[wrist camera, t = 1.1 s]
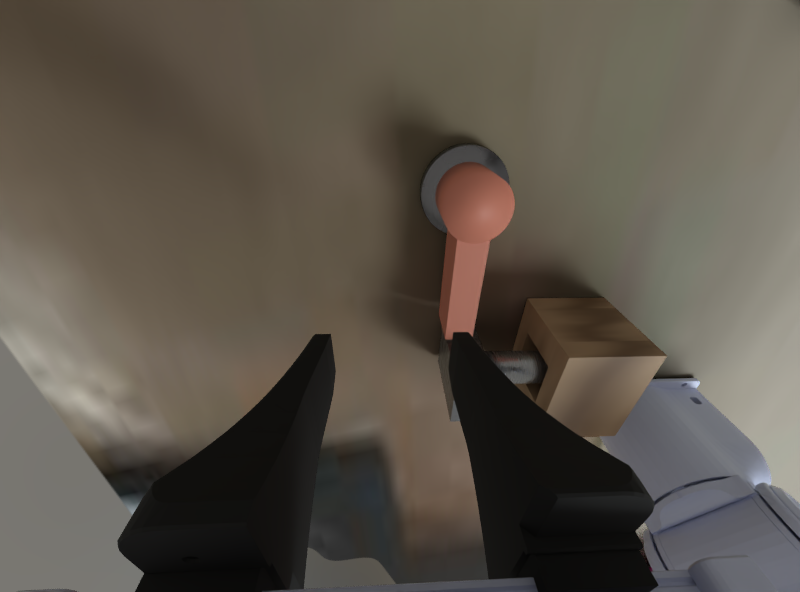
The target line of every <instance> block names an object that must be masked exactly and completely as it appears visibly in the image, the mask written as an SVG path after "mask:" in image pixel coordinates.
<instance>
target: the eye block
mask: <svg viewBox="0 0 800 592" xmlns="http://www.w3.org/2000/svg"><path fill="white" fill-rule="evenodd" d="M527 350H538V351H539V352H540V354H541V356H542V357H543V359H544V361H545V362H546V364H547V366H548V370H547V373H546V375H545V378H544V380H543V383H534V384H515V385H516V386H517V387H518V388H519V389H520V390H521V391H522V392H523V393H524V394H525V395H526V396H528V397H529V398H530V399H531V400H532V401H533V402H535V403H536V404H537V405H538V406H539V407H541V408H542V409H543V410H544V411H546V412H547V413H548V414H550V415H551V416H552V417H554V418H555V419H556V420H558V421H559V422H560V423H562V424H563V425H564V426H566V427H567V428H569V429H570V430H572V431H573V432H575V433H576V434H578V435H579V436H581V437H597V436H615V435H616V434H617V432H618V431H619V429H620V428H621V426H622V425H623V423H624V421H625V420H626V418H627V417H628V415H629V414H630V412H631V411H632V409H633V408H634V406H635V405H636V403H637V402H638V400H639V398H640V397H641V395H642V394H643V392H644V391H645V389H646V388H647V386H648V385H649V383H650V382H651V380H652V379H653V377H654V375H655V374H656V372H657V371H658V369H659V368H660V366H661V365H662V363H663V362H664V360H665V359H666V357H667V355H666V354H665V353H663V352H662V351H661V350H660V349H659V348H658V347H657V346H656V345H655V344H654V343H653V342H652V341H650V340H649V339H648V338H647V337H646V336H645V335H644V334H643V333H642V332H641V331H640V330H639V329H637V328H636V327H635V326H634V325H633V324H632V323H631V322H630V321H629V320H628V319H627V318H626V317H624V316H623V315H622V314H621V313H620V312H619V311H618V310H617V309H616V308H615V307H614V306H613V305H611V304H610V303H609V302H608V301H607V300H606V299H605V298H604V297H603V298H527V301H526V305H525V308H524V312H523V316H522V319H521V323H520V326H519V330H518V333H517V337H516V340H515V344H514V347H513V351H527Z"/></svg>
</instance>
